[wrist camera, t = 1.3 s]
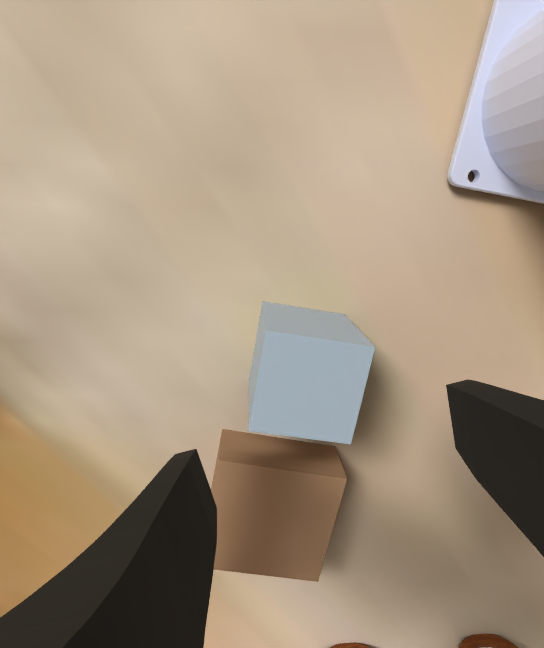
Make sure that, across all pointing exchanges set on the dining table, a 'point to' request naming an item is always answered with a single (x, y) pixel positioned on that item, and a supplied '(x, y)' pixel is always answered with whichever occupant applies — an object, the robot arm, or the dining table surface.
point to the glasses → (470, 644)
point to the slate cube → (307, 374)
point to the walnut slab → (275, 504)
